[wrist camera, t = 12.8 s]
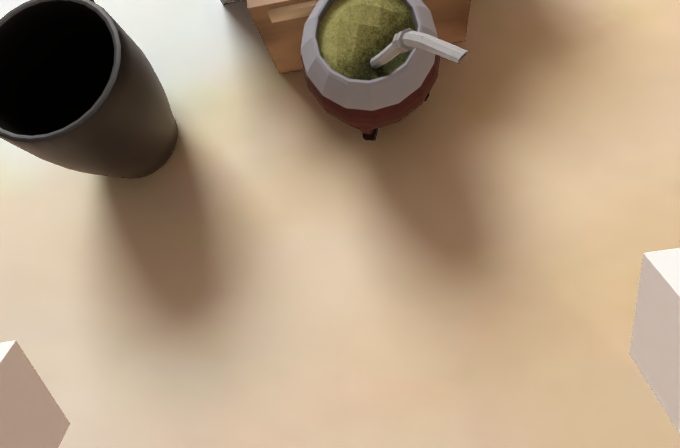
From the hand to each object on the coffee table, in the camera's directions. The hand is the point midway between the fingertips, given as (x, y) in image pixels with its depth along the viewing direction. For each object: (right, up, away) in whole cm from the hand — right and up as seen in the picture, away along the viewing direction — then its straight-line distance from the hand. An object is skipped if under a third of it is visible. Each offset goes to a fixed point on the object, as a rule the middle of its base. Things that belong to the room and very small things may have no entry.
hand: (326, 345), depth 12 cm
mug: (-13, +10, +25) cm, 30 cm away
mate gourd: (+3, +10, +22) cm, 24 cm away
